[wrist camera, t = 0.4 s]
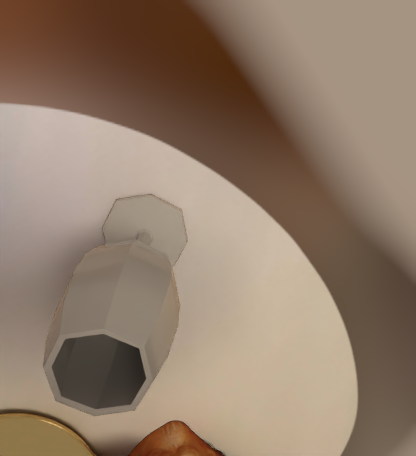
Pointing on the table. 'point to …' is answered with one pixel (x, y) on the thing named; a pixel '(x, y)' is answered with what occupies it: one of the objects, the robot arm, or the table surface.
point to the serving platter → (38, 437)
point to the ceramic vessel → (174, 443)
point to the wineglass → (118, 310)
